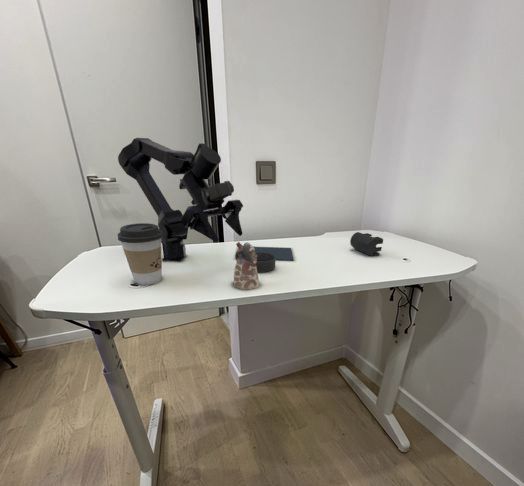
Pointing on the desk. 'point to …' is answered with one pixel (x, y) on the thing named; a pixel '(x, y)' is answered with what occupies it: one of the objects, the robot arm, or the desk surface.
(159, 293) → the desk surface
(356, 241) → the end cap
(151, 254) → the coffee cup
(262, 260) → the smart speaker
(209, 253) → the desk surface
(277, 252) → the mat
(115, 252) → the desk surface
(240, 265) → the figurine
